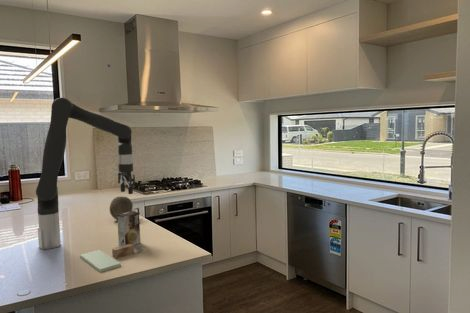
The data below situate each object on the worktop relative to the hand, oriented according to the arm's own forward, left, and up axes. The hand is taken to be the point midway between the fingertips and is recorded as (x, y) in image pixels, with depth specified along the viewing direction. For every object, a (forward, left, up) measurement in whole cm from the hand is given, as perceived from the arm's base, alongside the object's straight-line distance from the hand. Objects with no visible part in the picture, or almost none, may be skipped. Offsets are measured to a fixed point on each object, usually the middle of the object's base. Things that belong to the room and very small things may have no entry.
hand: (126, 192), depth 187 cm
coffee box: (-5, -11, -25) cm, 27 cm away
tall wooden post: (-11, -23, -25) cm, 35 cm away
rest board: (-25, -23, -24) cm, 42 cm away
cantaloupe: (+13, +37, -25) cm, 46 cm away
